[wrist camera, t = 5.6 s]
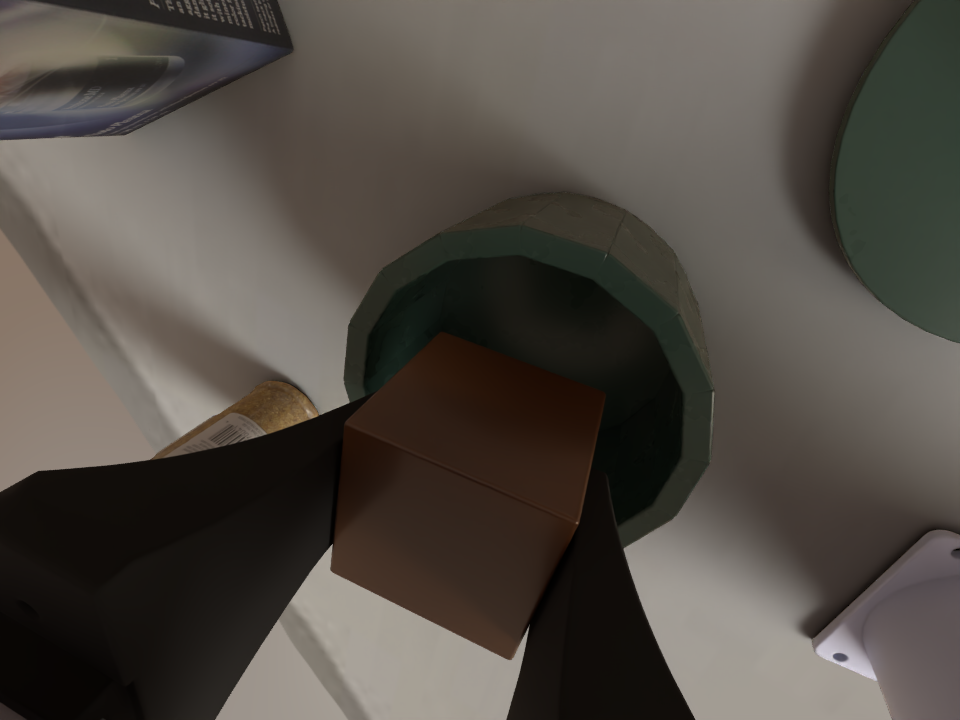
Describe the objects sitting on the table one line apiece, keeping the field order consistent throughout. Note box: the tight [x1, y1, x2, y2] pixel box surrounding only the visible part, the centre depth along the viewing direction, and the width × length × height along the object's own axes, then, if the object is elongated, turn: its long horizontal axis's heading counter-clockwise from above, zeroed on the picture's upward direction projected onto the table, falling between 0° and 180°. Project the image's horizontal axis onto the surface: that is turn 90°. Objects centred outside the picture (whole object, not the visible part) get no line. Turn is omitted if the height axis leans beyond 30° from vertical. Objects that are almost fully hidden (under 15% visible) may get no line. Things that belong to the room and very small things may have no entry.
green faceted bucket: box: [344, 192, 715, 548], centre depth 16 cm, size 10×10×6 cm
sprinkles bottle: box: [150, 381, 319, 460], centre depth 20 cm, size 5×5×14 cm
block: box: [330, 332, 606, 660], centre depth 11 cm, size 4×4×4 cm
